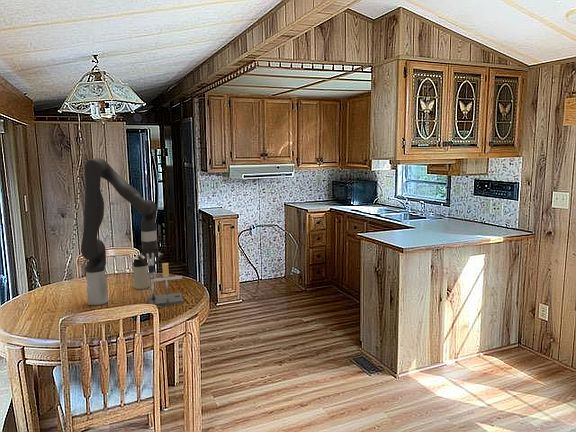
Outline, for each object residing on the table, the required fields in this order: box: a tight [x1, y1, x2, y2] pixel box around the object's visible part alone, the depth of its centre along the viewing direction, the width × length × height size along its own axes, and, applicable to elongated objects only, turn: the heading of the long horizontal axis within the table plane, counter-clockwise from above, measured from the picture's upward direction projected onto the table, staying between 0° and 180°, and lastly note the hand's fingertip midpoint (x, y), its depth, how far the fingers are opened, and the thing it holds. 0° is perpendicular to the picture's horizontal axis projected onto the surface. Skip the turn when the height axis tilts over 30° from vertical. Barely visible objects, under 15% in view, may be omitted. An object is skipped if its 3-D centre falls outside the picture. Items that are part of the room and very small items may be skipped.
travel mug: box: [132, 255, 150, 290], centre depth 257 cm, size 8×8×18 cm
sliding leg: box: [161, 262, 170, 296], centre depth 232 cm, size 3×4×18 cm
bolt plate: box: [147, 274, 184, 307], centre depth 232 cm, size 18×14×14 cm
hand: (151, 272), depth 229 cm, fingers closed
